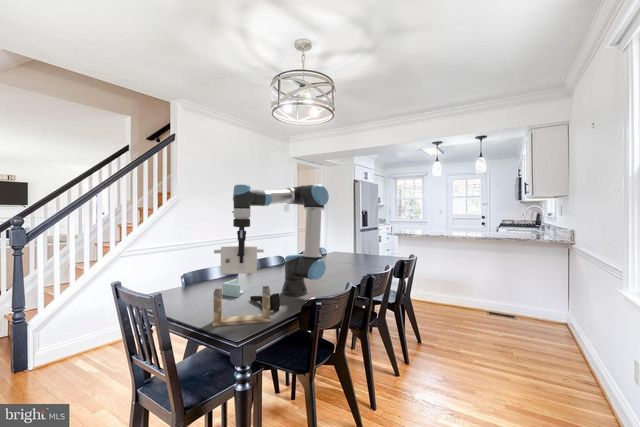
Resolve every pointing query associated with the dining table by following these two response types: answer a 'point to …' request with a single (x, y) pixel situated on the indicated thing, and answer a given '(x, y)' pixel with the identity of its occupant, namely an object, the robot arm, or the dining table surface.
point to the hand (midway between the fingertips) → (241, 269)
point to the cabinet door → (231, 259)
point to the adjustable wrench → (273, 301)
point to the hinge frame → (235, 320)
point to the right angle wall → (232, 288)
